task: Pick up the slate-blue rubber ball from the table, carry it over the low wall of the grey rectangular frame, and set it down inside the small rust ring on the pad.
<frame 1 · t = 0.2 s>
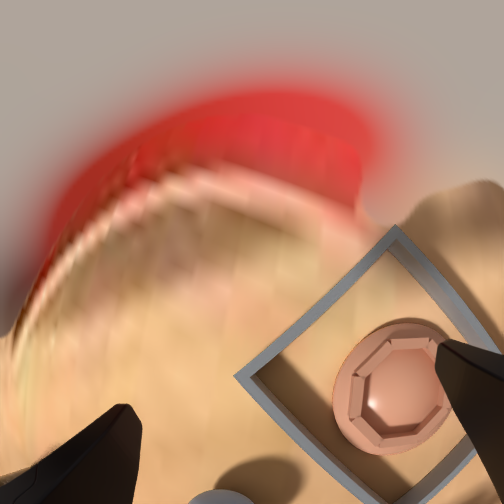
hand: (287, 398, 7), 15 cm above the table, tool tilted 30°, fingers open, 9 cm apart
supplement bottle: (46, 489, 19), on the table
grey rectangular frame: (399, 391, 19), on the table
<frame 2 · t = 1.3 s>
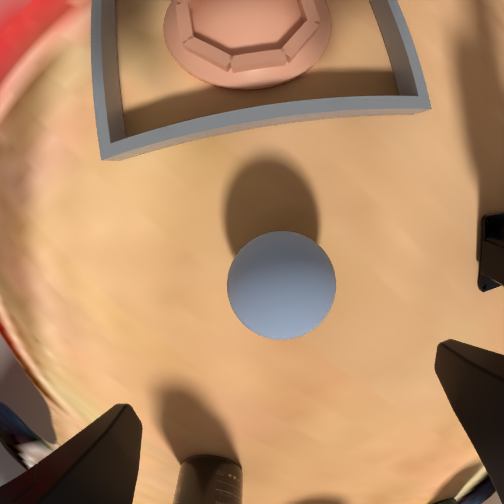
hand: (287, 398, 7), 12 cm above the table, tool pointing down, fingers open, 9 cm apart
ball: (281, 285, 16), point 3 cm above the table
supplement bottle: (212, 468, 26), on the table
grey rectangular frame: (247, 19, 15), on the table
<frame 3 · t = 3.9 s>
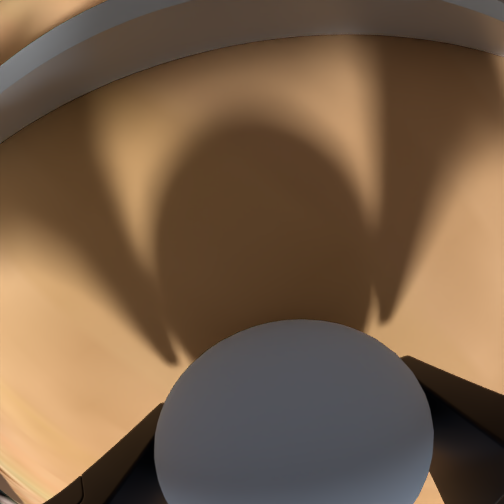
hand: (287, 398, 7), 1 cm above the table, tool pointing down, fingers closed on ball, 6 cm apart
ball: (295, 449, 5), point 3 cm above the table, touching gripper
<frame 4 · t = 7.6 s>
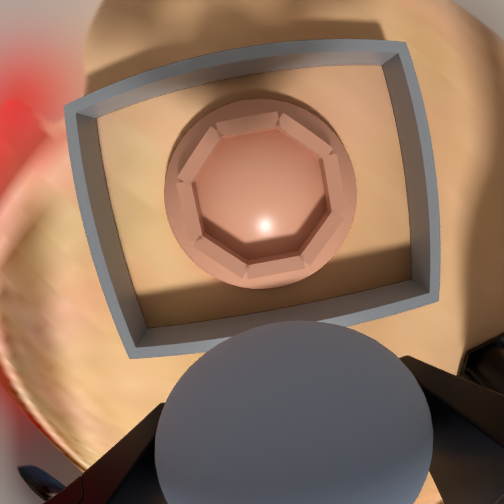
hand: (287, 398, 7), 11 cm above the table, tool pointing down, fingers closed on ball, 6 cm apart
ball: (295, 450, 5), point 13 cm above the table, touching gripper
grey rectangular frame: (261, 194, 17), on the table
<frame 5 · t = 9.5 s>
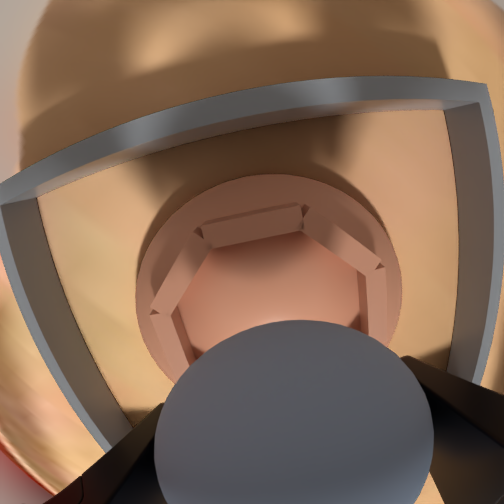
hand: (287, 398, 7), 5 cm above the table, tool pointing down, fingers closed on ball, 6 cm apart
ball: (295, 449, 5), point 7 cm above the table, touching gripper
grey rectangular frame: (272, 313, 12), on the table
when the fingers open (3 cm above the table, at t = 11.3 s): ball stays where it is, resting on grey rectangular frame.
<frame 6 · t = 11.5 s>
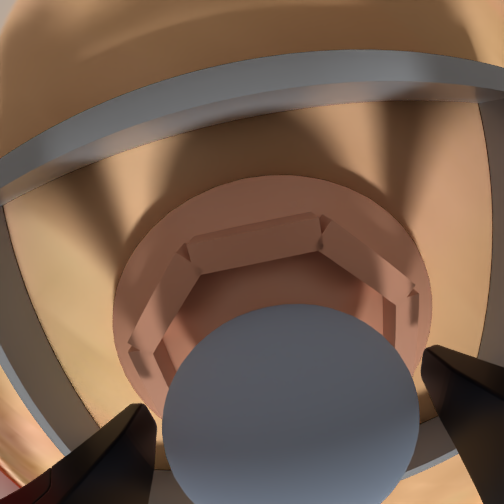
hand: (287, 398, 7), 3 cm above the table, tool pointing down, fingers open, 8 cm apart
ball: (291, 425, 6), point 4 cm above the table, touching grey rectangular frame
grey rectangular frame: (278, 346, 10), on the table
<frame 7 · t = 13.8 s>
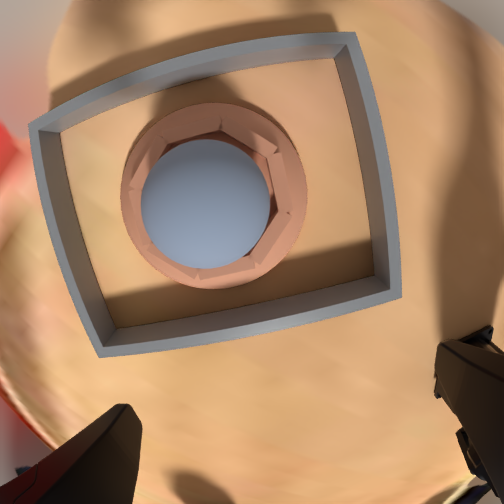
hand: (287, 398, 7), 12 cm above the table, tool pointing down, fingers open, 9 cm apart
ball: (205, 203, 14), point 4 cm above the table, touching grey rectangular frame
grey rectangular frame: (211, 196, 17), on the table
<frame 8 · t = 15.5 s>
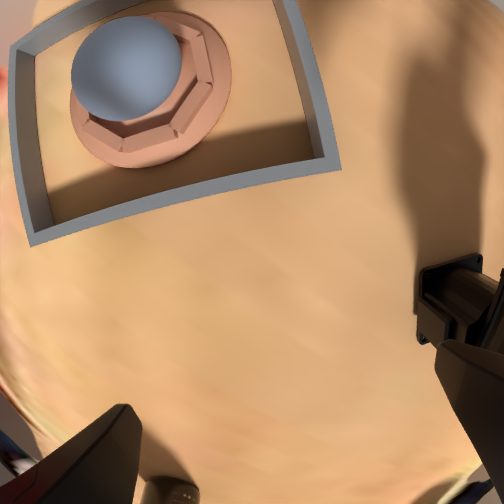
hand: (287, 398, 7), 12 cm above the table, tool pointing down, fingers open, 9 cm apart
ball: (125, 67, 12), point 4 cm above the table, touching grey rectangular frame
supplement bottle: (173, 486, 26), on the table
grey rectangular frame: (145, 84, 16), on the table
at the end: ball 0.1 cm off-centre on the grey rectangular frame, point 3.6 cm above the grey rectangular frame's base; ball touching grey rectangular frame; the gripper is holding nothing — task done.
